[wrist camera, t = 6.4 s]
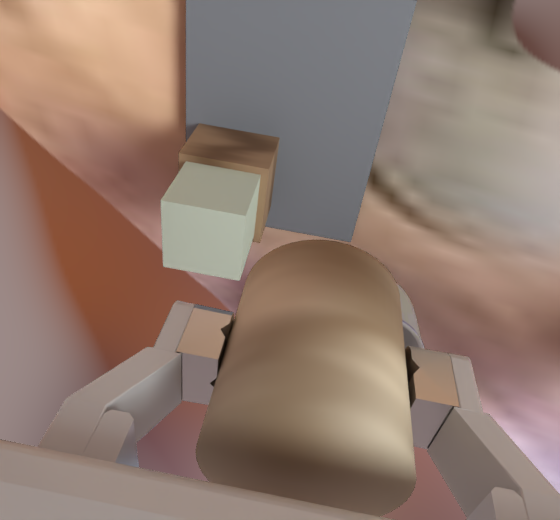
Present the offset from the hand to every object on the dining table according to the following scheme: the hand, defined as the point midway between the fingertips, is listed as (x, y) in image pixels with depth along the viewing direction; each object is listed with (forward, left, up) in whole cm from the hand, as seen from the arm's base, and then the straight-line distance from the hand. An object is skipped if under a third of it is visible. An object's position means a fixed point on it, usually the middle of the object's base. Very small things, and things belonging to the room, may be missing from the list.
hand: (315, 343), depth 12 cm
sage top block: (+7, +9, -19) cm, 22 cm away
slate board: (+4, +5, -25) cm, 26 cm away
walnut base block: (+7, +9, -24) cm, 26 cm away
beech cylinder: (0, 0, -2) cm, 2 cm away
